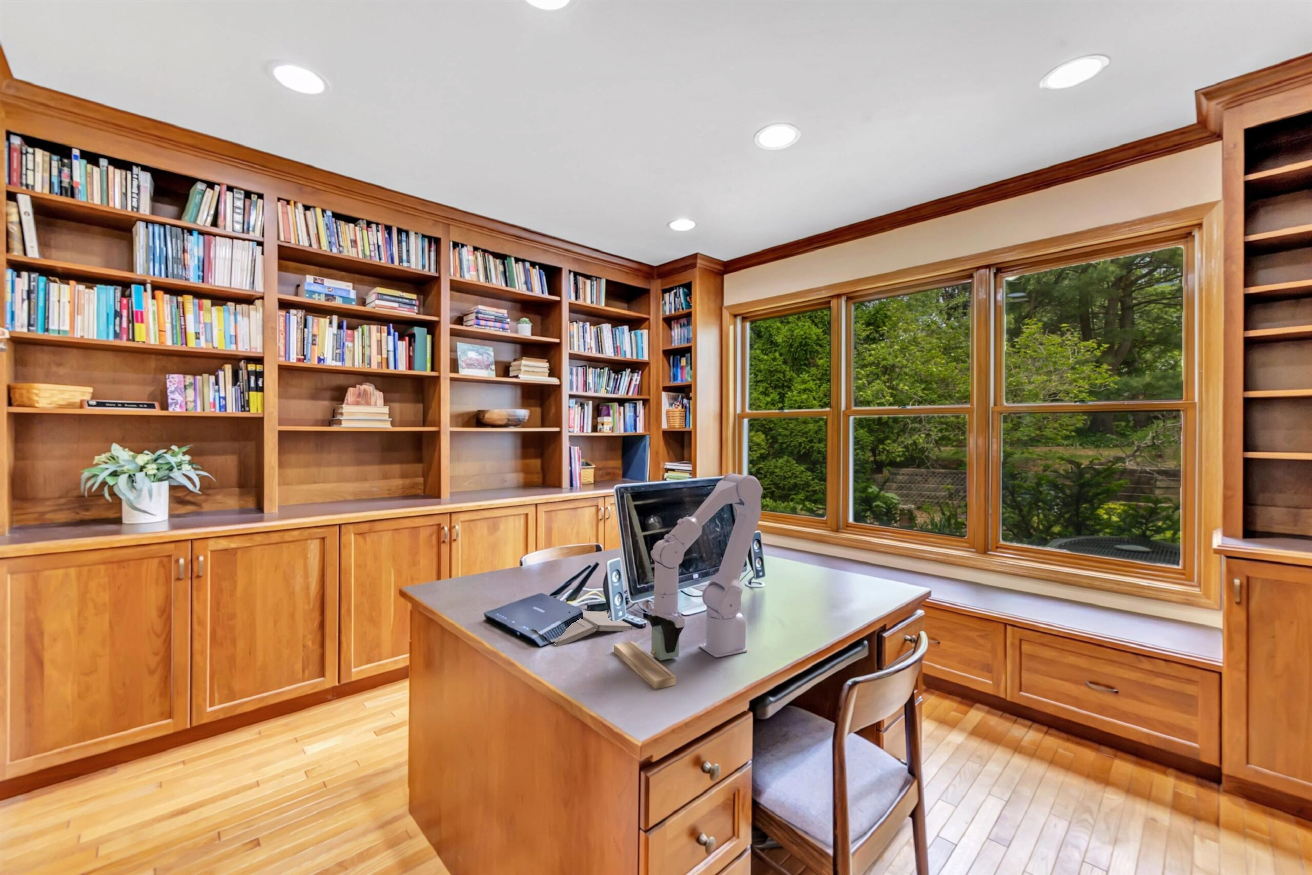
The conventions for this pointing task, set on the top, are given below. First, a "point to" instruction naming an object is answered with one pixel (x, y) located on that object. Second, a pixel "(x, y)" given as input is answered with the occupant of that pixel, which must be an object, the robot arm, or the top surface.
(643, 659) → the plank
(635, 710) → the top surface
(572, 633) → the gadget
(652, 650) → the green box with tab
